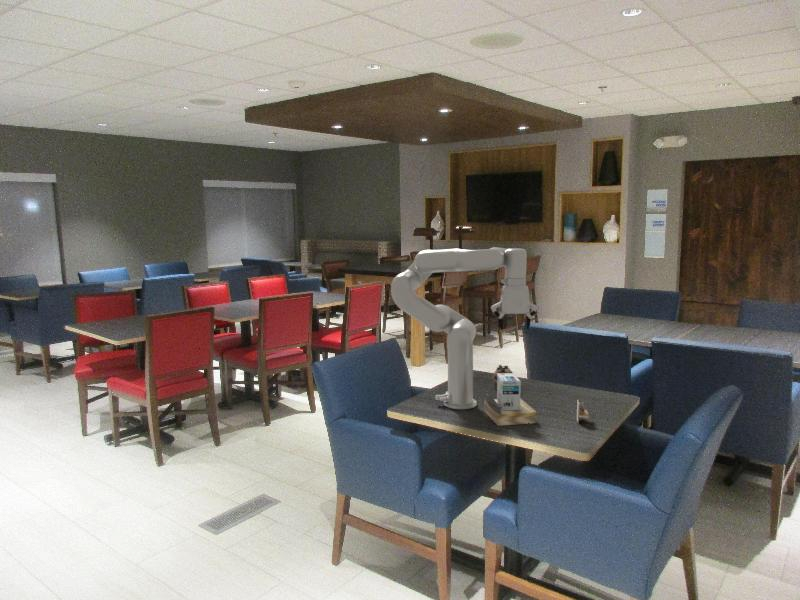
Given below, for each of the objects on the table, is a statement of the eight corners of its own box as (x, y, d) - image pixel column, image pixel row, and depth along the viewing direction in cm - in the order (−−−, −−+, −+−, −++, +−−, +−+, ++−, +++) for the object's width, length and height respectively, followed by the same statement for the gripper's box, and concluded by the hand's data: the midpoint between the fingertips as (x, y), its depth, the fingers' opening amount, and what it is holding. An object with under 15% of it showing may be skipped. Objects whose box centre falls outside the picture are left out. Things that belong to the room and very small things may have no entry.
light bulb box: (520, 410, 205) (521, 380, 204) (501, 410, 205) (502, 381, 204) (514, 400, 216) (514, 372, 214) (496, 401, 216) (496, 372, 214)
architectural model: (586, 420, 208) (587, 400, 207) (588, 427, 202) (589, 406, 201) (576, 419, 209) (577, 399, 208) (578, 426, 202) (578, 405, 201)
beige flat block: (497, 425, 202) (498, 407, 201) (483, 410, 218) (484, 393, 217) (536, 423, 204) (536, 405, 203) (519, 408, 220) (520, 391, 219)
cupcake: (516, 393, 239) (517, 369, 237) (492, 392, 240) (492, 368, 238) (514, 386, 248) (515, 363, 247) (491, 385, 249) (492, 362, 248)
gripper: (494, 283, 208) (493, 331, 211) (541, 283, 210) (539, 330, 212) (489, 281, 216) (488, 327, 218) (535, 281, 217) (533, 326, 220)
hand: (513, 328), depth 215 cm, fingers open, 9 cm apart
